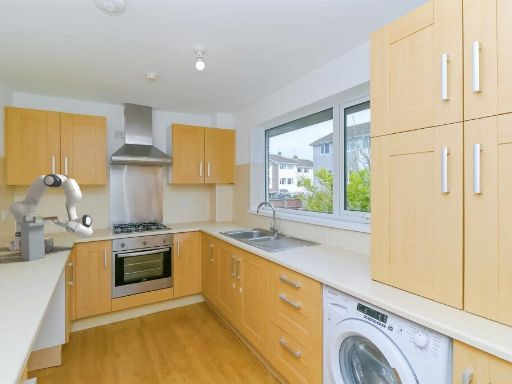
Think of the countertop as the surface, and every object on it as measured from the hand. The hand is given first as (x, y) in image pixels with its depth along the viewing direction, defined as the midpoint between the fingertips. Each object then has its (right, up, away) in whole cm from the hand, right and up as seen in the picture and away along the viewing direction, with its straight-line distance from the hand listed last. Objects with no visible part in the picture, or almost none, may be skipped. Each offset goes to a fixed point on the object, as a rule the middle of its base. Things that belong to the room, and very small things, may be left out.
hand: (55, 219), depth 210 cm
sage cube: (-1, 0, -15) cm, 15 cm away
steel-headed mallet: (-4, 0, -8) cm, 9 cm away
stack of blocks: (-19, -26, +7) cm, 33 cm away
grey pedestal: (-7, -26, -11) cm, 29 cm away
